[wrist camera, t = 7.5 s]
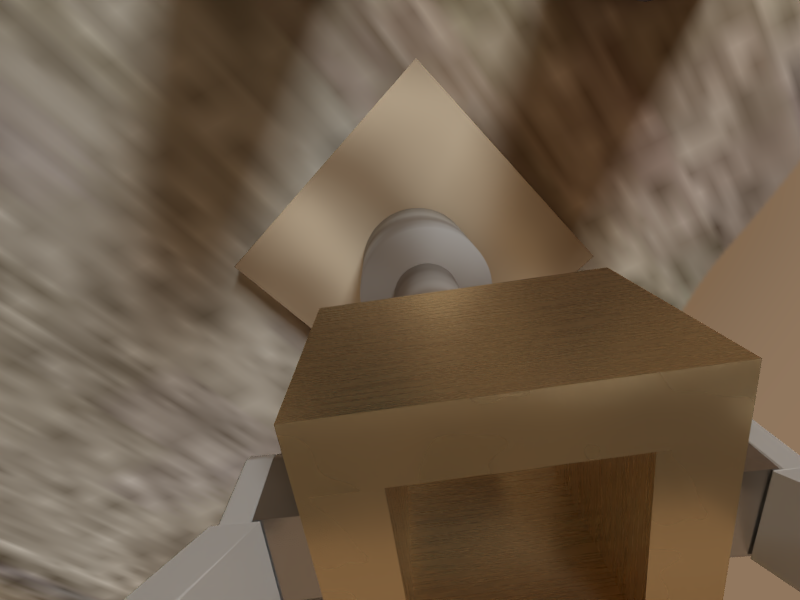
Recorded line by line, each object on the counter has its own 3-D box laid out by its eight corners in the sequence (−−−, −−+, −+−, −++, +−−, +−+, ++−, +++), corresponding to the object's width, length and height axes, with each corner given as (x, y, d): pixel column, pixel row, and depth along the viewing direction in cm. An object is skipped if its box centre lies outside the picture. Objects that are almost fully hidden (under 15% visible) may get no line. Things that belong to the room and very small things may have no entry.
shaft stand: (415, 397, 25) (444, 608, 14) (243, 258, 22) (104, 389, 11) (580, 248, 23) (778, 363, 11) (413, 63, 19) (462, -31, 8)
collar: (366, 524, 11) (357, 717, 8) (319, 308, 9) (273, 425, 5) (601, 494, 11) (710, 674, 7) (607, 267, 9) (762, 357, 5)
